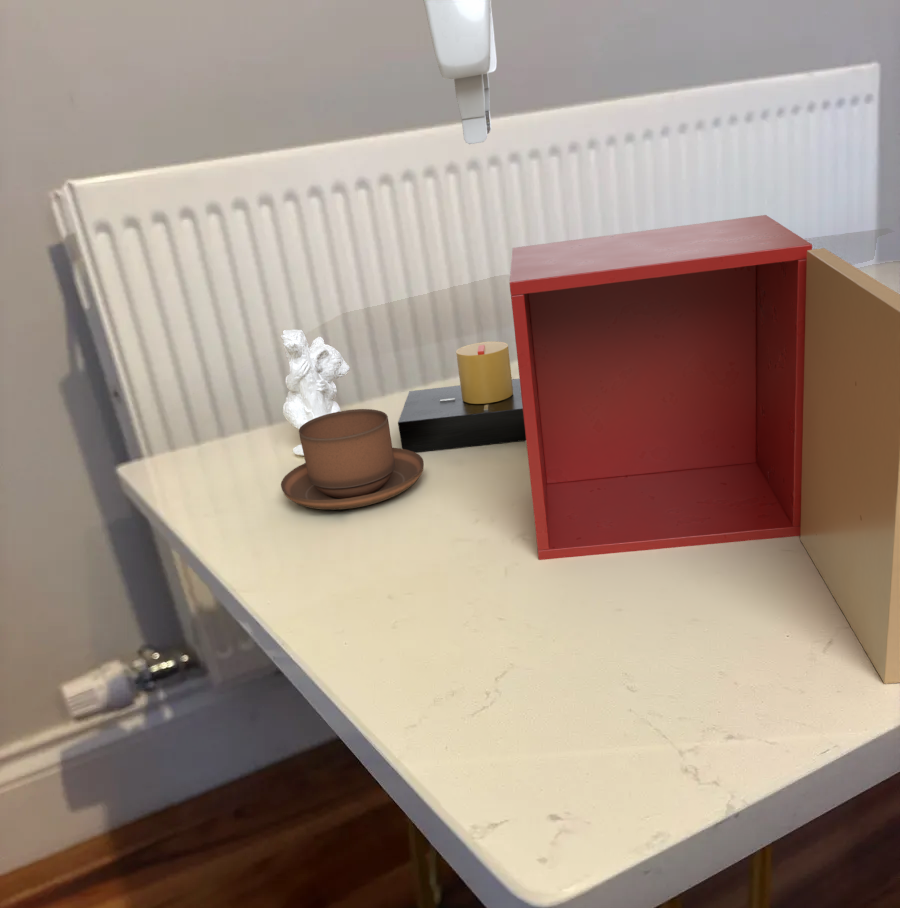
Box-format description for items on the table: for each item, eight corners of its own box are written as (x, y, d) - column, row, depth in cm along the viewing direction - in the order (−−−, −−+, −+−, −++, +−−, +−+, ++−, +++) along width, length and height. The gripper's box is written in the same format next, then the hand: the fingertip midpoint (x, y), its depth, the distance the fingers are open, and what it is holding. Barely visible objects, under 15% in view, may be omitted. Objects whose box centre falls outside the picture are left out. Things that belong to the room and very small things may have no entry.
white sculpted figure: (340, 467, 93) (315, 334, 88) (273, 469, 95) (244, 340, 89) (371, 435, 100) (349, 311, 95) (308, 438, 102) (283, 317, 97)
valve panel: (538, 406, 101) (535, 374, 100) (539, 439, 92) (536, 405, 91) (413, 420, 103) (408, 389, 101) (402, 453, 94) (397, 420, 92)
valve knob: (463, 391, 98) (457, 341, 96) (513, 386, 98) (508, 335, 96) (461, 406, 94) (454, 354, 92) (513, 400, 94) (507, 348, 91)
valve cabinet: (805, 536, 68) (812, 244, 59) (538, 561, 70) (509, 282, 61) (764, 467, 79) (766, 214, 71) (537, 490, 81) (512, 247, 73)
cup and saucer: (257, 506, 87) (241, 436, 84) (363, 459, 94) (351, 394, 91) (347, 533, 79) (333, 457, 76) (456, 480, 86) (446, 409, 83)
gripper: (428, -41, 87) (449, 136, 93) (401, -68, 69) (430, 153, 75) (501, -53, 86) (518, 126, 93) (494, -84, 68) (516, 141, 75)
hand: (479, 138), depth 84 cm, fingers open, 8 cm apart
